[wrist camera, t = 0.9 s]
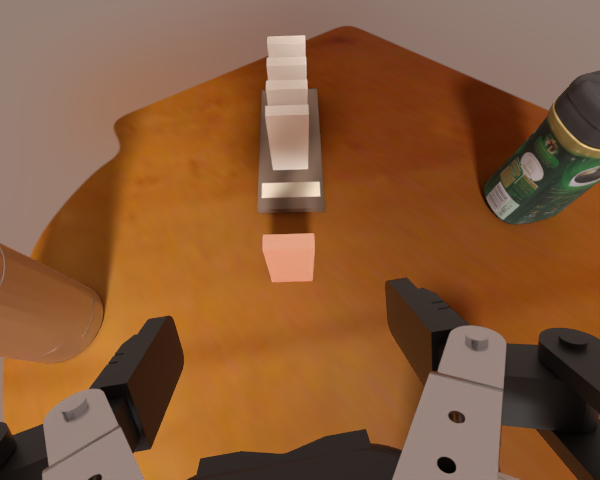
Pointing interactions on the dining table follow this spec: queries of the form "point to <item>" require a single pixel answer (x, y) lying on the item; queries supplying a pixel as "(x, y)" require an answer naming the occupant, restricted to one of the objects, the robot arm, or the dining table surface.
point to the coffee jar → (552, 159)
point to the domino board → (291, 171)
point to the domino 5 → (289, 256)
